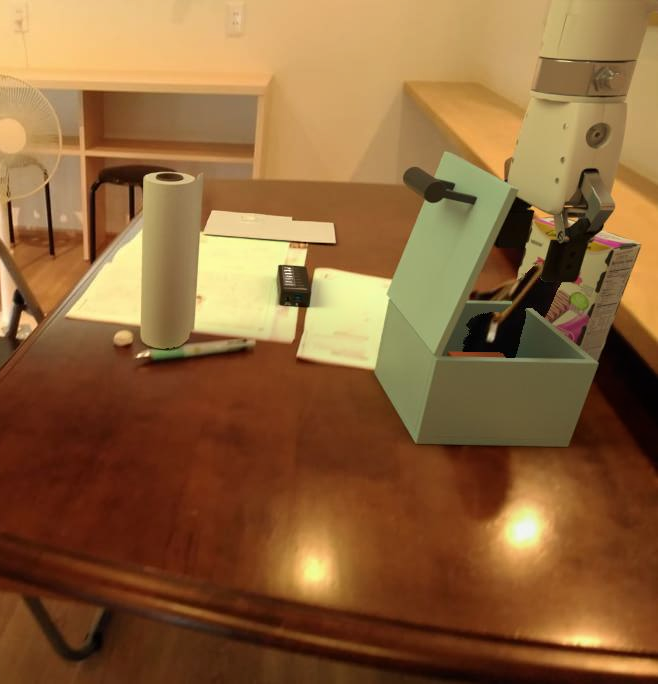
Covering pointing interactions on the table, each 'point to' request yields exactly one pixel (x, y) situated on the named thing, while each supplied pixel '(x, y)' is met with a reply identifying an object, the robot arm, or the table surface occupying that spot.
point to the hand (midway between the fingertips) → (531, 263)
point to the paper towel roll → (169, 257)
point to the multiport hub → (293, 286)
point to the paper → (268, 227)
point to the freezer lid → (447, 244)
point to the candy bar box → (585, 284)
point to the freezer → (485, 384)
